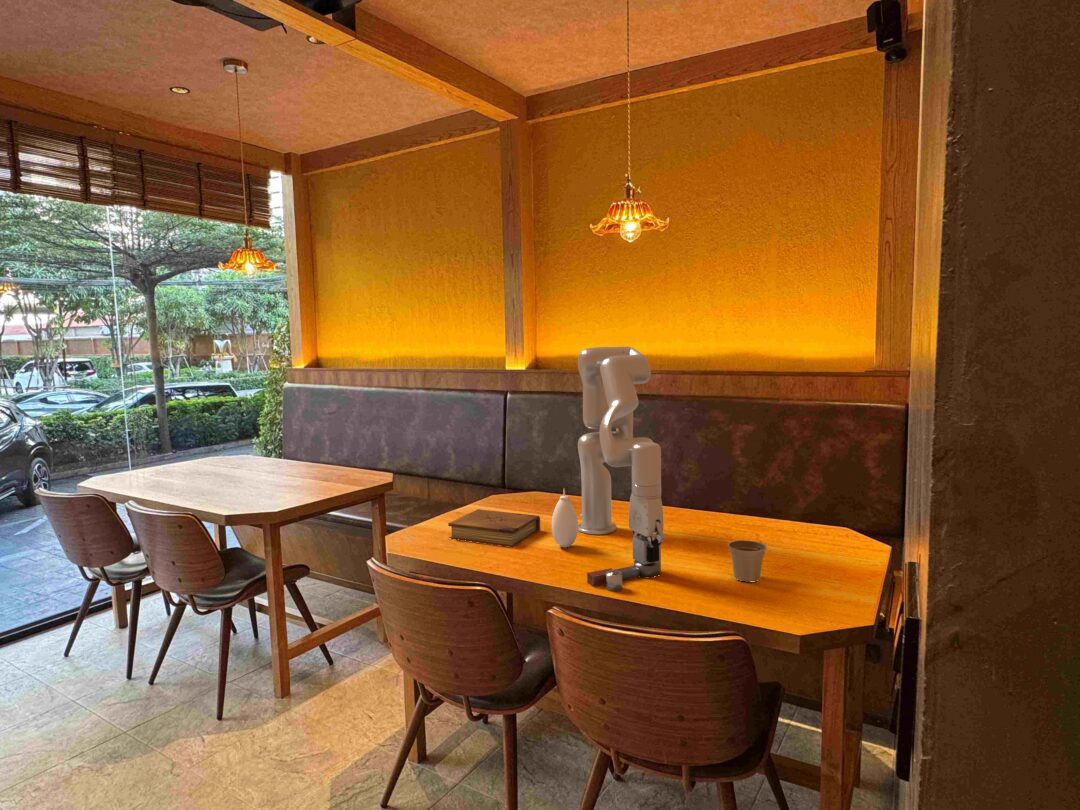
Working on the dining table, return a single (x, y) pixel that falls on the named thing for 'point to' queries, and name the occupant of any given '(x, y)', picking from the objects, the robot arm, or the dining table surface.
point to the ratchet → (625, 573)
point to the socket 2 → (642, 549)
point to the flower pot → (747, 559)
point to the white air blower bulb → (564, 522)
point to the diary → (495, 527)
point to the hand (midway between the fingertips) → (646, 557)
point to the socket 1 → (614, 581)
